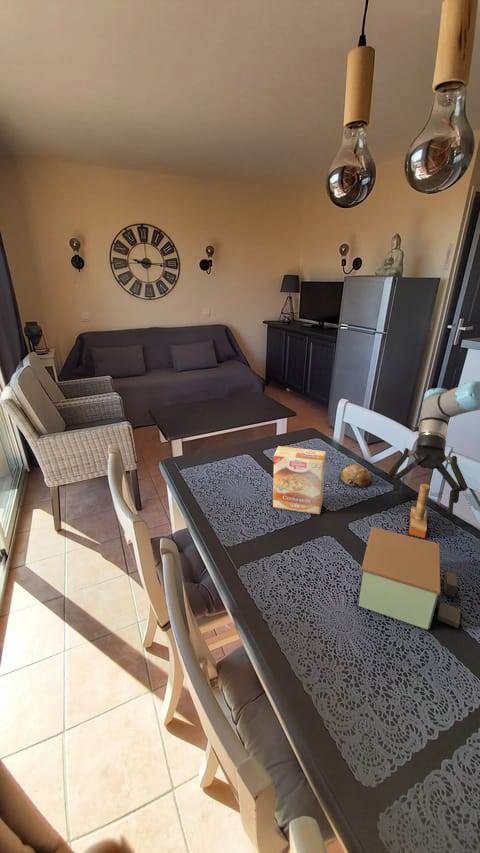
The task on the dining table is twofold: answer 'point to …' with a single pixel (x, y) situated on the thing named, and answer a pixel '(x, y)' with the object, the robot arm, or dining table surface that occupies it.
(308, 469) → the coffeecake box
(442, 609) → the dust pad
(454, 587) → the block
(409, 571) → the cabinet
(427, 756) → the dining table surface
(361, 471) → the bread roll
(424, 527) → the brush
